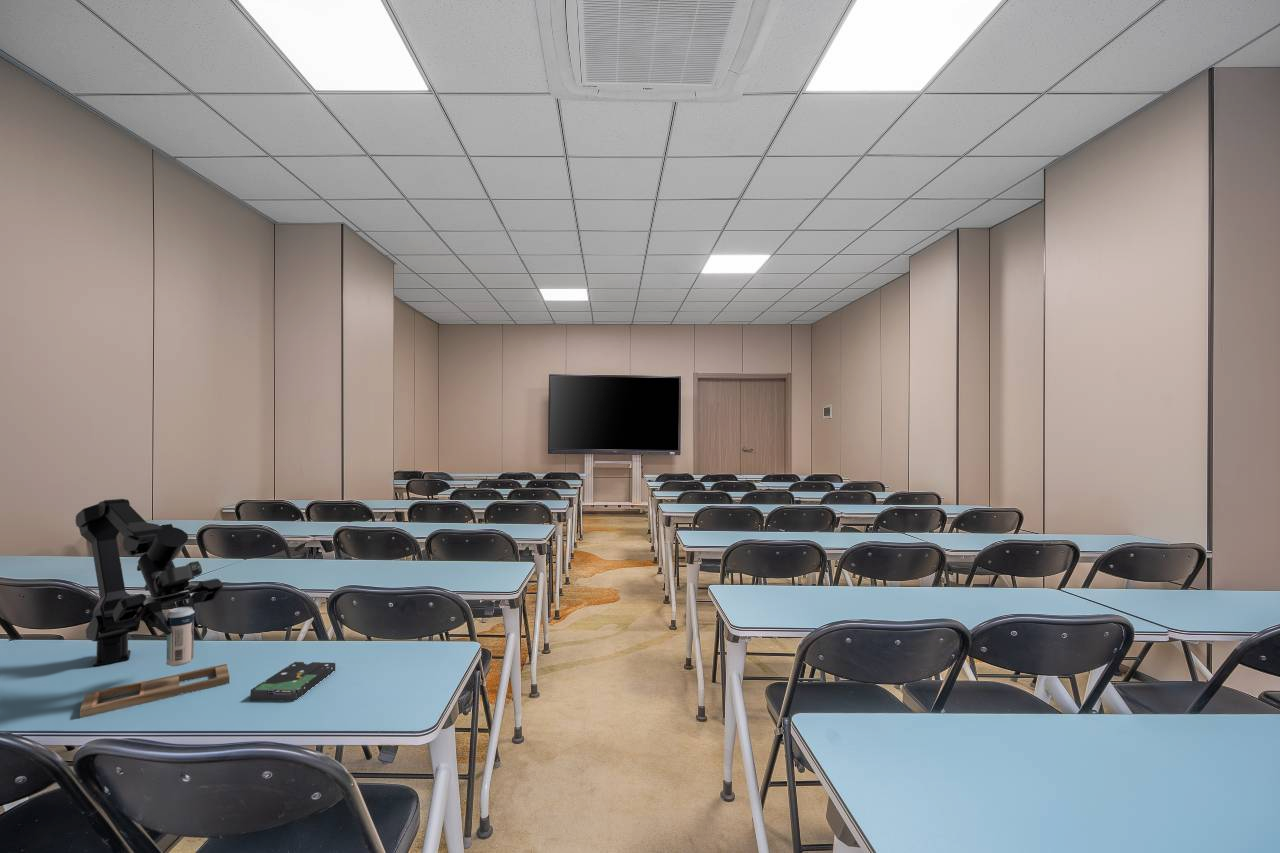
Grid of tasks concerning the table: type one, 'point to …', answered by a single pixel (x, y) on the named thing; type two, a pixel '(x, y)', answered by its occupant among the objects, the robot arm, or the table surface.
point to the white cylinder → (180, 636)
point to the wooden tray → (152, 690)
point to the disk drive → (292, 681)
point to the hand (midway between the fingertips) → (183, 630)
